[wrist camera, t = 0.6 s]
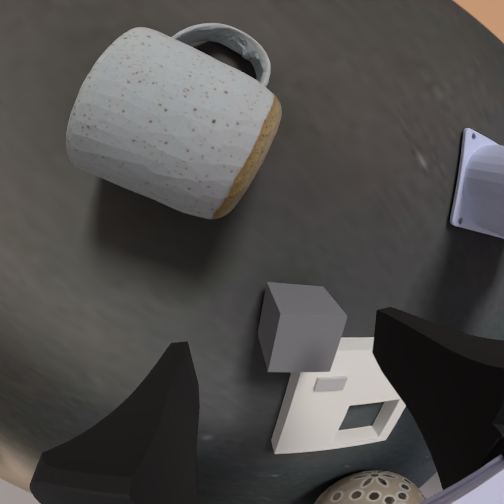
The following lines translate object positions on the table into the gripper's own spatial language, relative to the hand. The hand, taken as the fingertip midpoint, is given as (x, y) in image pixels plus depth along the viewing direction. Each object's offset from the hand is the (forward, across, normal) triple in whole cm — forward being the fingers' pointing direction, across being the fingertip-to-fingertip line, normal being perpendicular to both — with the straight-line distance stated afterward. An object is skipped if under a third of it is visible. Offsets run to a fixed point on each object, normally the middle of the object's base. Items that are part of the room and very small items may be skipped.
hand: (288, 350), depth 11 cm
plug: (+10, -2, +3) cm, 10 cm away
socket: (+10, -7, +13) cm, 18 cm away
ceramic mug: (+10, +3, -10) cm, 14 cm away
